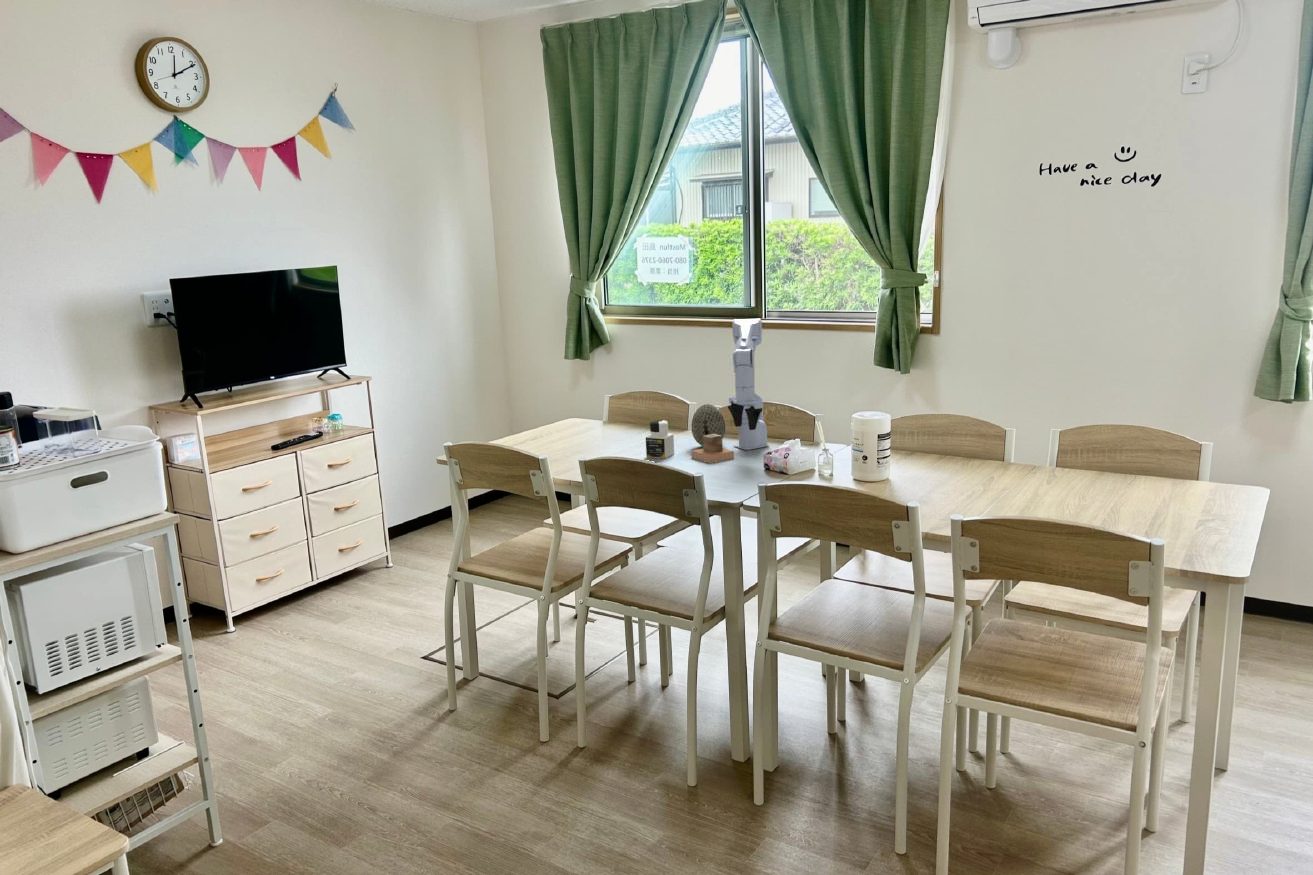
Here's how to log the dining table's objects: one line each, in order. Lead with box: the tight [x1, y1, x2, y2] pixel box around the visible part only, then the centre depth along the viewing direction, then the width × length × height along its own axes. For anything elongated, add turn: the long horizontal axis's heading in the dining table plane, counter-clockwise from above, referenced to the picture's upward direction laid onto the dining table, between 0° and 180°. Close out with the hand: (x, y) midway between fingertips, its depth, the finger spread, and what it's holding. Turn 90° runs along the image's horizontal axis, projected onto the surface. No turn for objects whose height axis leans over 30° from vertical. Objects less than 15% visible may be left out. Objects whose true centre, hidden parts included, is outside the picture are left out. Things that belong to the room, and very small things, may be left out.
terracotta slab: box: [691, 447, 735, 464], centre depth 316 cm, size 10×10×3 cm
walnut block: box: [702, 434, 724, 453], centre depth 315 cm, size 5×5×5 cm
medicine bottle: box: [645, 419, 675, 460], centre depth 322 cm, size 7×7×12 cm
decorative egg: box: [690, 403, 726, 447], centre depth 332 cm, size 12×12×15 cm
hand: (745, 427), depth 310 cm, fingers open, 7 cm apart
